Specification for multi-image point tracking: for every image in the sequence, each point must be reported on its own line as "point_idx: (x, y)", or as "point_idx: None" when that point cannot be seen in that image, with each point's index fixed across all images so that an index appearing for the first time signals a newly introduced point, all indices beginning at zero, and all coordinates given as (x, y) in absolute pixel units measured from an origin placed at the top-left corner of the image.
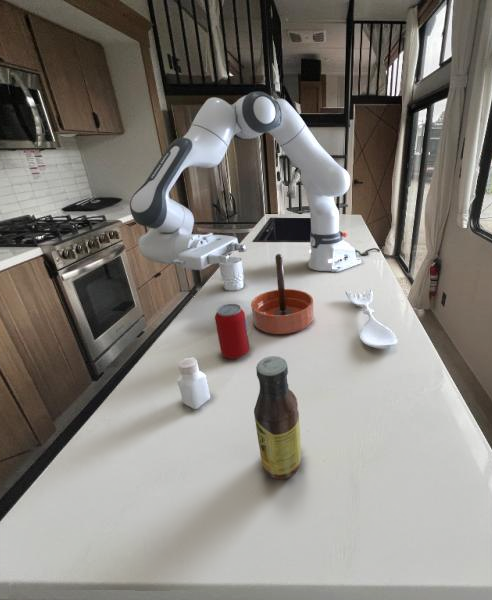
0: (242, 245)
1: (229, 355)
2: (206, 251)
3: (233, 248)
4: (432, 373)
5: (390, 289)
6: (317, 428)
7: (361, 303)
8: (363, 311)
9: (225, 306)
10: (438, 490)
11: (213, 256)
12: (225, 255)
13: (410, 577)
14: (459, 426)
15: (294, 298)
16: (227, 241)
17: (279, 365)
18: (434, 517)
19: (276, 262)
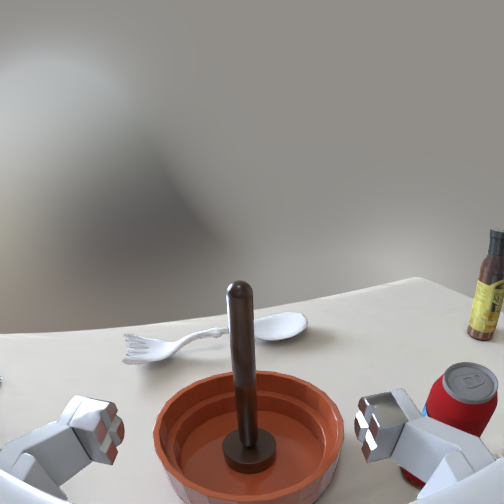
0: (87, 404)
1: None
2: (496, 492)
3: (54, 493)
4: (314, 303)
5: (103, 332)
6: (440, 334)
7: (169, 348)
8: (218, 335)
9: (468, 400)
10: (417, 293)
11: (464, 434)
12: (385, 398)
13: (458, 293)
14: (365, 292)
15: (171, 433)
16: (6, 490)
17: (495, 229)
18: (431, 292)
19: (252, 310)
